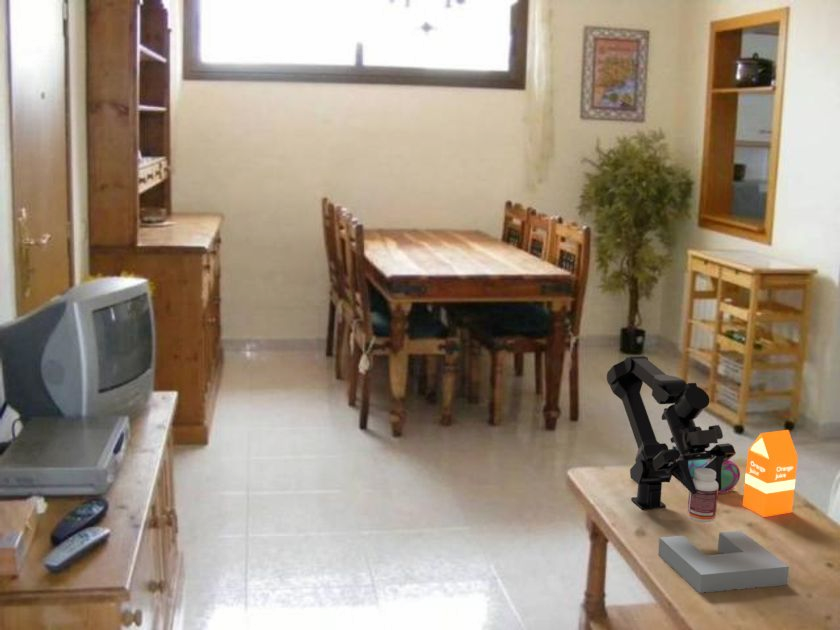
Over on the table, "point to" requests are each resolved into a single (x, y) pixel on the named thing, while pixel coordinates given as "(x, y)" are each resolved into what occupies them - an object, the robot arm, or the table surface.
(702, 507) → the pill bottle
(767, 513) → the orange juice
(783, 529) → the table surface
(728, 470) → the pencil case
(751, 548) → the notched board
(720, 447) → the robot arm
